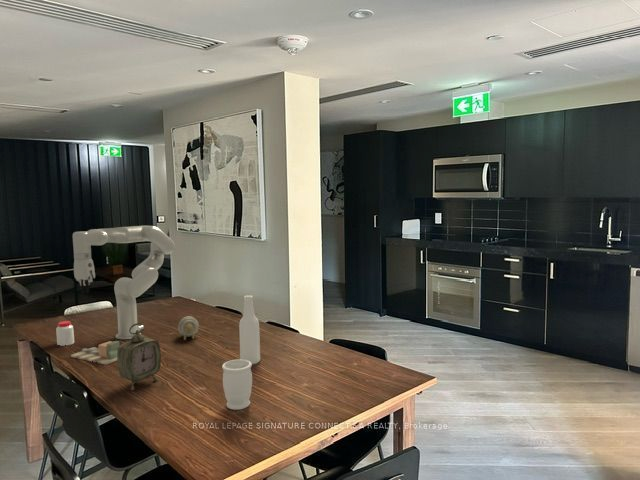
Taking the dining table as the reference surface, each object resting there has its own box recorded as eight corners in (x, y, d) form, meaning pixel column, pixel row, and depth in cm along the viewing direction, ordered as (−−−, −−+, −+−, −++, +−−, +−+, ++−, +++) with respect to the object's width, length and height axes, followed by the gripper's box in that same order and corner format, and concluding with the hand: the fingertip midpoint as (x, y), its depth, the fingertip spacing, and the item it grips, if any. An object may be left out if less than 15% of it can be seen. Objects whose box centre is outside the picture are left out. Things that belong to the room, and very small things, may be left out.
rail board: (70, 356, 219) (69, 340, 218) (93, 349, 229) (92, 333, 229) (105, 364, 208) (104, 347, 207) (127, 356, 219) (126, 339, 218)
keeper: (99, 357, 214) (98, 345, 214) (110, 352, 220) (109, 341, 219) (106, 358, 212) (105, 346, 211) (117, 354, 217) (116, 342, 217)
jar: (225, 399, 172) (224, 359, 170) (253, 397, 172) (252, 358, 171) (221, 412, 161) (220, 370, 159) (252, 410, 162) (250, 369, 160)
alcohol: (252, 356, 215) (250, 293, 212) (264, 361, 209) (262, 295, 206) (236, 361, 209) (234, 296, 206) (248, 366, 203) (246, 299, 200)
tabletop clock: (131, 393, 178) (127, 329, 175) (116, 388, 182) (112, 326, 180) (162, 380, 190) (158, 320, 187) (147, 375, 195) (144, 317, 192)
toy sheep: (180, 343, 237) (179, 321, 236) (176, 333, 252) (175, 313, 251) (201, 340, 241) (200, 319, 240) (196, 331, 256) (195, 311, 255)
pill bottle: (66, 346, 234) (65, 324, 233) (53, 345, 236) (52, 324, 235) (77, 341, 242) (76, 320, 241) (64, 340, 243) (63, 320, 242)
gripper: (99, 256, 229) (102, 293, 231) (79, 254, 236) (82, 290, 238) (86, 258, 222) (88, 296, 224) (65, 256, 229) (68, 293, 231)
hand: (85, 293), depth 231 cm, fingers closed
